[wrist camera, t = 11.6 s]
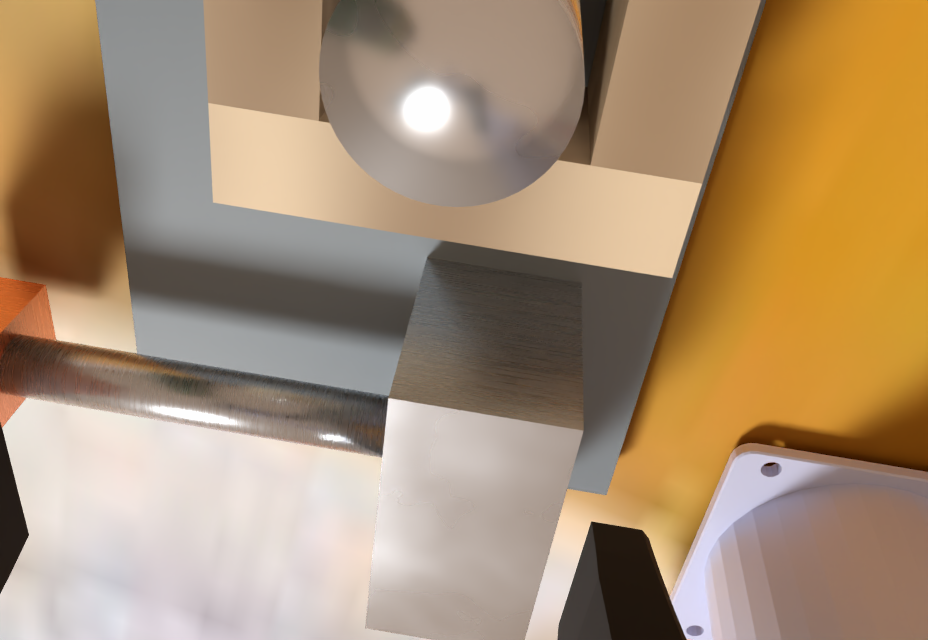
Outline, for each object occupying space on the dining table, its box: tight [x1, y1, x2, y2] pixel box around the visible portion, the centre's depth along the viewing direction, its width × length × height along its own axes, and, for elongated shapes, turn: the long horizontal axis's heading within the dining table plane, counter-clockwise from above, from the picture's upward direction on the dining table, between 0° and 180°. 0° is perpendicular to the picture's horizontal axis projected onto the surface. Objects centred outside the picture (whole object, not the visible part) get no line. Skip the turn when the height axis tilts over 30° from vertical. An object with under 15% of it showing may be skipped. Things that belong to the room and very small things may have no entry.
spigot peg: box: [319, 0, 585, 207], centre depth 13 cm, size 3×3×7 cm
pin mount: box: [365, 257, 584, 640], centre depth 19 cm, size 4×7×5 cm, turn 173°
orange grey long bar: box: [0, 277, 389, 457], centre depth 19 cm, size 13×2×4 cm, turn 83°
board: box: [95, 0, 766, 495], centre depth 18 cm, size 12×18×1 cm
